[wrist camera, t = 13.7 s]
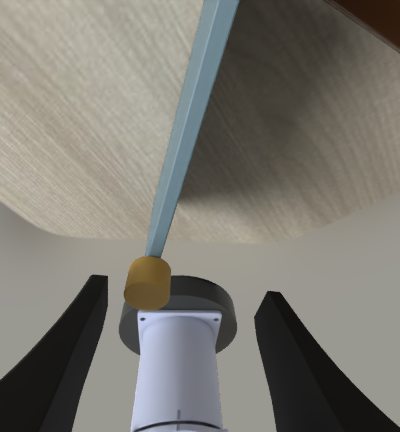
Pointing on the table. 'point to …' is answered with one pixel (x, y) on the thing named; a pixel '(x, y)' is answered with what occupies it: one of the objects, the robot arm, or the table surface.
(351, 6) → the cabinet
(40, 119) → the table surface
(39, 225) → the table surface
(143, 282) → the blue cabinet door
